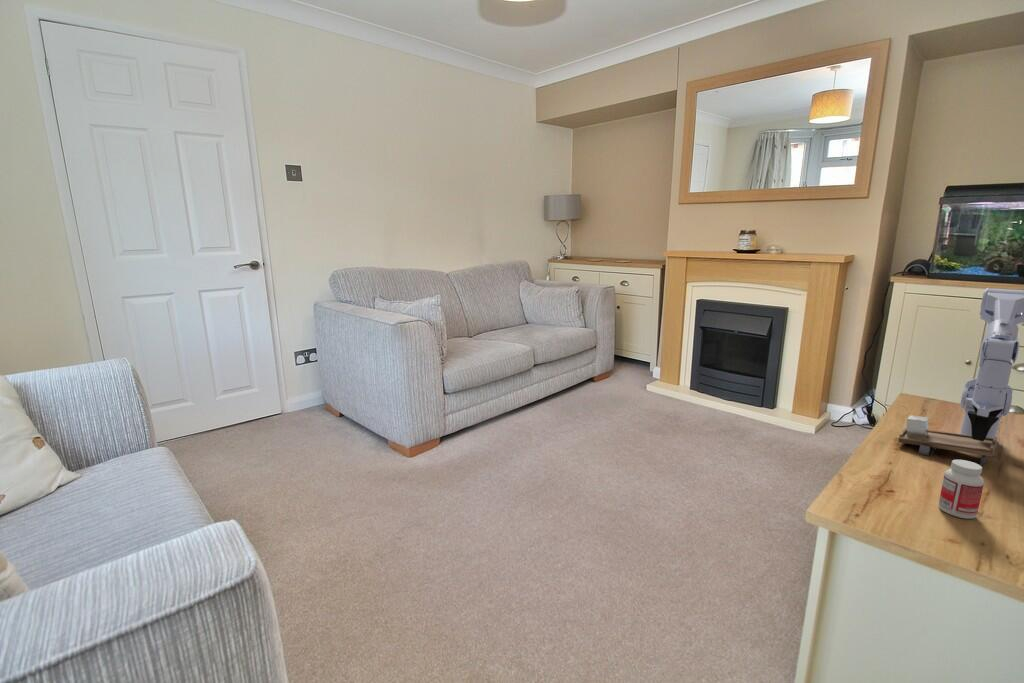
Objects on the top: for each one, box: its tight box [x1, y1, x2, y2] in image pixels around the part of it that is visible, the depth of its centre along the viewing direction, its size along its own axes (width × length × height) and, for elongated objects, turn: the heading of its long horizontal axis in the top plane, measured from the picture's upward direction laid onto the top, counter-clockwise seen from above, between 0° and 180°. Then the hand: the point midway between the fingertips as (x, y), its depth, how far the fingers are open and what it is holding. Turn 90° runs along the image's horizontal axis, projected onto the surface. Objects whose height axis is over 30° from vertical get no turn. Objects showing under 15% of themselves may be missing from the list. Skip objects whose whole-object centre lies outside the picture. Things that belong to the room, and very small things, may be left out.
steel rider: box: [906, 415, 929, 439], centre depth 135 cm, size 4×4×5 cm
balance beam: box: [898, 426, 998, 457], centre depth 130 cm, size 11×18×2 cm, turn 41°
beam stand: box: [901, 443, 987, 467], centre depth 131 cm, size 14×17×3 cm
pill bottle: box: [938, 459, 985, 520], centre depth 102 cm, size 6×6×11 cm
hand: (979, 435), depth 125 cm, fingers open, 7 cm apart
